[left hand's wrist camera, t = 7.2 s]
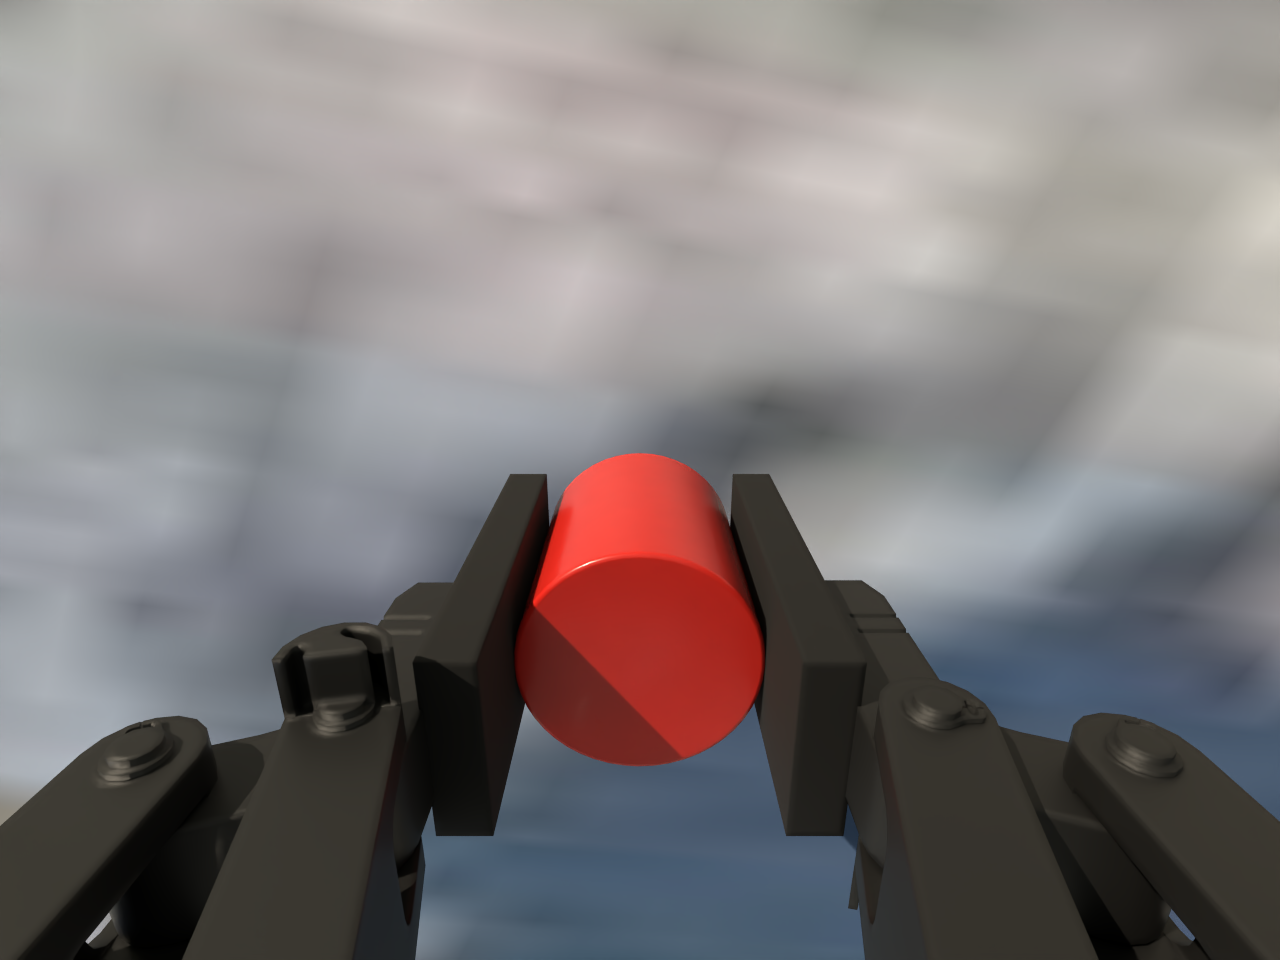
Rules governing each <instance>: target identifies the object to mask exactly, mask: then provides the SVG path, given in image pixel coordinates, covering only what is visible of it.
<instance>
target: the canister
mask: <svg viewBox="0 0 1280 960" xmlns="http://www.w3.org/2000/svg"><path fill="white" fill-rule="evenodd" d="M765 654H766V650H765V644H764V637H763V634H762V631H761V627H760V624H759V621H758V617H757V614H756V611H755V608H754V604H753V601H752V598H751V594H750V591H749V588H748V585H747V581H746V578H745V575H744V571H743V568H742V565H741V562H740V558H739V555H738V552H737V548H736V545H735V542H734V539H733V535H732V532H731V529H730V525H729V522H728V519H727V516H726V513H725V509H724V507H723V504H722V502H721V500H720V498H719V496H718V495H717V493H716V492H715V490H714V489H713V488H712V486H711V485H710V484H709V483H708V482H707V481H706V480H705V479H704V478H703V477H702V476H701V475H700V474H698V473H697V472H696V471H694V470H693V469H691V468H690V467H688V466H687V465H685V464H683V463H680V462H678V461H676V460H673V459H670V458H667V457H664V456H659V455H654V454H642V453H638V454H626V455H620V456H615V457H612V458H609V459H606V460H603V461H601V462H599V463H597V464H595V465H593V466H591V467H590V468H588V469H587V470H585V471H583V472H582V473H581V474H580V475H579V476H578V477H576V478H575V479H574V480H573V481H572V482H571V484H570V485H569V486H568V487H567V488H566V490H565V491H564V493H563V494H562V495H561V497H560V499H559V501H558V503H557V505H556V508H555V511H554V514H553V517H552V520H551V523H550V527H549V530H548V533H547V537H546V540H545V543H544V546H543V550H542V553H541V556H540V560H539V563H538V566H537V569H536V573H535V576H534V579H533V582H532V586H531V589H530V592H529V596H528V599H527V602H526V605H525V609H524V612H523V615H522V619H521V622H520V625H519V628H518V632H517V635H516V640H515V646H514V667H515V675H516V680H517V683H518V687H519V690H520V693H521V695H522V697H523V699H524V701H525V703H526V705H527V707H528V709H529V710H530V712H531V713H532V715H533V716H534V718H535V719H536V720H537V721H538V722H539V723H540V725H541V726H542V727H543V728H544V729H545V730H546V731H547V732H548V733H550V734H551V735H552V736H553V737H554V738H555V739H557V740H558V741H560V742H561V743H563V744H564V745H566V746H567V747H569V748H571V749H573V750H575V751H576V752H578V753H580V754H583V755H585V756H588V757H590V758H593V759H596V760H600V761H603V762H607V763H612V764H618V765H626V766H654V765H661V764H667V763H672V762H676V761H680V760H683V759H686V758H689V757H691V756H694V755H697V754H699V753H701V752H703V751H705V750H707V749H709V748H711V747H712V746H714V745H715V744H717V743H718V742H720V741H721V740H723V739H724V738H725V737H726V736H727V735H729V734H730V733H731V732H732V731H733V730H734V729H735V728H736V727H737V726H738V725H739V724H740V723H741V722H742V720H743V719H744V718H745V717H746V715H747V714H748V712H749V711H750V709H751V708H752V706H753V704H754V702H755V700H756V698H757V696H758V694H759V691H760V688H761V685H762V681H763V678H764V670H765Z"/></svg>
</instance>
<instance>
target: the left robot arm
mask: <svg viewBox="0 0 1280 960" xmlns="http://www.w3.org/2000/svg"><path fill="white" fill-rule="evenodd" d="M730 529H731V532H732V535H733V539H734V542H735V545H736V548H737V552H738V555H739V558H740V562H741V565H742V568H743V571H744V575H745V578H746V581H747V585H748V588H749V591H750V594H751V598H752V601H753V604H754V608H755V611H756V614H757V617H758V621H759V624H760V627H761V631H762V634H763V637H764V644H765V650H766V654H765V670H764V678H763V681H762V685H761V688H760V691H759V694H758V696H757V698H756V700H755V702H754V704H755V708H756V712H757V716H758V720H759V724H760V729H761V733H762V737H763V741H764V745H765V749H766V754H767V758H768V762H769V766H770V770H771V774H772V779H773V783H774V787H775V791H776V795H777V800H778V804H779V808H780V812H781V816H782V820H783V825H784V829H785V833H786V836H843V835H844V827H845V820H846V813H847V806H848V805H849V808H850V810H851V813H852V816H853V819H854V822H855V824H856V827H857V830H858V833H859V838H858V845H857V851H856V858H855V865H854V872H853V878H852V885H851V892H850V899H849V906H848V908H850V909H855V910H857V908H858V903H859V908H860V917H861V926H862V936H863V945H864V954H865V960H1280V822H1279V821H1278V820H1277V819H1276V818H1275V817H1274V816H1273V815H1272V814H1270V813H1269V812H1268V811H1267V810H1266V809H1265V808H1264V807H1262V806H1261V805H1260V804H1259V803H1258V802H1257V801H1256V800H1255V799H1253V798H1252V797H1251V796H1250V795H1249V794H1248V793H1247V792H1246V791H1244V790H1243V789H1242V788H1241V787H1240V786H1239V785H1238V784H1237V783H1235V782H1234V781H1233V780H1232V779H1231V778H1230V777H1229V776H1228V775H1226V774H1225V773H1224V772H1223V771H1222V770H1221V769H1220V768H1219V767H1217V766H1216V765H1215V764H1214V763H1213V762H1212V761H1211V760H1209V759H1208V758H1207V757H1206V756H1205V755H1204V754H1203V753H1202V752H1200V751H1199V750H1198V749H1196V748H1195V747H1194V746H1192V745H1191V744H1189V743H1188V742H1187V741H1185V740H1184V739H1182V738H1181V737H1180V736H1178V735H1176V734H1174V733H1172V732H1170V731H1168V730H1166V729H1164V728H1162V727H1159V726H1157V725H1156V724H1154V723H1151V722H1148V721H1145V720H1142V719H1137V718H1135V717H1131V716H1127V715H1120V714H1109V713H1097V714H1092V715H1087V716H1083V717H1082V718H1081V719H1080V720H1079V721H1077V722H1076V723H1075V724H1074V725H1073V729H1072V732H1071V736H1070V740H1069V742H1064V741H1059V740H1055V739H1050V738H1045V737H1041V736H1036V735H1031V734H1026V733H1022V732H1018V731H1014V730H1011V729H1007V728H1003V727H1000V726H999V725H998V723H997V721H996V718H995V717H994V715H993V714H992V713H991V711H990V710H989V709H988V707H987V706H986V704H985V703H983V702H982V701H981V700H979V699H978V698H977V697H975V696H974V695H973V694H971V693H970V692H969V691H967V690H964V689H962V688H960V687H957V686H955V685H953V684H951V683H948V682H945V681H940V680H939V678H938V677H937V675H936V674H935V672H934V671H933V669H932V668H931V666H930V665H929V663H928V662H927V660H926V659H925V657H924V656H923V654H922V653H921V651H920V650H919V648H918V647H917V645H916V644H915V642H914V641H913V639H912V638H911V636H910V635H909V633H906V628H905V627H904V625H903V624H902V622H901V621H900V619H899V618H896V613H895V612H894V610H893V609H892V607H891V606H890V604H889V603H888V601H887V600H886V598H885V597H884V596H883V595H882V594H880V593H879V592H878V591H876V590H875V589H873V588H872V587H870V586H869V585H867V584H866V583H865V582H863V581H862V580H824V578H823V577H822V575H821V573H820V571H819V569H818V567H817V565H816V563H815V561H814V559H813V557H812V555H811V554H810V552H809V550H808V548H807V546H806V544H805V542H804V540H803V538H802V536H801V534H800V532H799V531H798V529H797V527H796V525H795V523H794V521H793V519H792V517H791V515H790V513H789V511H788V509H787V507H786V506H785V504H784V502H783V500H782V498H781V496H780V494H779V492H778V490H777V488H776V486H775V484H774V483H773V481H772V479H771V477H770V475H769V474H733V482H732V502H731V522H730ZM548 530H549V511H548V491H547V474H510V476H509V478H508V480H507V482H506V484H505V485H504V487H503V489H502V491H501V493H500V495H499V497H498V499H497V501H496V503H495V505H494V507H493V508H492V510H491V512H490V514H489V516H488V518H487V520H486V522H485V524H484V526H483V528H482V530H481V531H480V533H479V535H478V537H477V539H476V541H475V543H474V545H473V547H472V549H471V551H470V553H469V554H468V556H467V558H466V560H465V562H464V564H463V566H462V568H461V570H460V572H459V574H458V576H457V578H456V579H455V581H454V583H417V584H416V585H414V586H413V587H411V588H410V589H408V590H407V591H405V592H404V593H403V594H401V595H400V596H398V597H397V598H396V599H395V600H394V602H393V603H392V605H391V606H390V608H389V609H388V611H387V612H386V614H385V615H384V620H381V622H380V623H379V625H378V626H376V625H373V624H369V623H340V624H335V625H330V626H325V627H321V628H318V629H316V630H313V631H310V632H308V633H305V634H303V635H300V636H299V637H297V638H296V639H294V640H292V641H291V642H289V643H288V644H286V645H285V646H283V647H282V648H281V649H280V651H279V652H278V653H277V654H276V655H275V656H274V658H273V659H272V663H273V668H274V672H275V677H276V681H277V686H278V690H279V695H280V699H281V704H282V708H283V713H284V717H285V720H284V722H283V724H282V727H281V729H279V730H276V731H273V732H269V733H265V734H262V735H258V736H253V737H248V738H244V739H239V740H234V741H230V742H225V743H220V744H216V745H211V742H210V738H209V735H208V731H207V728H206V727H205V726H204V725H203V724H202V723H200V722H199V721H198V720H197V719H193V718H188V717H182V716H172V717H162V718H154V719H150V720H146V721H143V722H138V723H135V724H133V725H130V726H127V727H125V728H123V729H121V730H119V731H117V732H115V733H113V734H111V735H109V736H107V737H105V738H103V739H101V740H100V741H98V742H97V743H96V744H94V745H93V746H91V747H90V748H89V749H87V750H86V751H84V752H83V753H82V754H80V755H79V756H78V757H77V758H76V759H75V760H74V761H72V762H71V763H70V764H69V765H68V766H67V767H66V768H65V769H64V770H62V771H61V772H60V773H59V774H58V775H57V776H56V777H55V778H53V779H52V780H51V781H50V782H49V783H48V784H47V785H46V786H45V787H43V788H42V789H41V790H40V791H39V792H38V793H37V794H36V795H34V796H33V797H32V798H31V799H30V800H29V801H28V802H27V803H26V804H24V805H23V806H22V807H21V808H20V809H19V810H18V811H17V812H15V813H14V814H13V815H12V816H11V817H10V818H9V819H8V820H7V821H5V822H4V823H3V824H2V825H1V826H0V960H415V955H416V946H417V937H418V928H419V919H420V910H421V900H422V891H423V882H424V873H425V859H424V851H423V845H422V838H421V835H422V832H423V829H424V826H425V824H426V821H427V818H428V815H429V813H430V810H431V807H432V809H433V816H434V824H435V831H436V836H493V835H494V831H495V827H496V823H497V818H498V814H499V810H500V806H501V802H502V798H503V793H504V789H505V785H506V781H507V777H508V773H509V768H510V764H511V760H512V756H513V752H514V747H515V743H516V739H517V735H518V731H519V727H520V722H521V718H522V714H523V710H524V706H525V701H524V699H523V697H522V695H521V693H520V690H519V687H518V683H517V680H516V675H515V667H514V646H515V640H516V635H517V632H518V628H519V625H520V622H521V619H522V615H523V612H524V609H525V605H526V602H527V599H528V596H529V592H530V589H531V586H532V582H533V579H534V576H535V573H536V569H537V566H538V563H539V560H540V556H541V553H542V550H543V546H544V543H545V540H546V537H547V533H548ZM1171 909H1172V910H1173V911H1174V912H1175V914H1176V915H1177V916H1178V917H1179V918H1180V920H1181V921H1182V922H1183V923H1184V924H1185V926H1186V927H1187V928H1188V929H1189V930H1190V932H1191V933H1192V934H1193V935H1194V937H1195V939H1194V941H1191V940H1190V939H1189V938H1188V937H1187V936H1186V935H1185V934H1184V933H1183V932H1182V931H1180V929H1179V928H1178V927H1177V926H1176V925H1175V923H1174V922H1173V921H1172V920H1171V918H1170V917H1169V914H1170V911H1171ZM108 913H110V916H111V918H112V919H111V920H110V922H109V923H108V924H107V925H106V927H105V928H104V929H103V930H102V932H101V933H100V934H99V935H98V936H96V937H95V938H94V939H93V940H92V941H91V942H90V943H89V944H87V943H86V940H87V939H88V937H89V936H90V935H91V934H92V932H93V931H94V930H95V929H96V928H97V926H98V925H99V924H100V923H101V921H102V920H103V919H104V918H105V917H106V915H107V914H108Z"/></svg>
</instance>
